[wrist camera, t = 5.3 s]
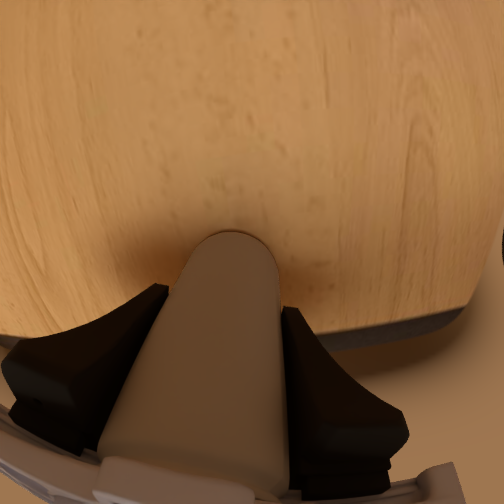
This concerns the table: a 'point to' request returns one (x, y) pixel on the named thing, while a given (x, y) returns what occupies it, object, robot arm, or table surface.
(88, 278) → the table surface
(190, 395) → the beverage can
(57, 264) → the table surface
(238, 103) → the table surface
